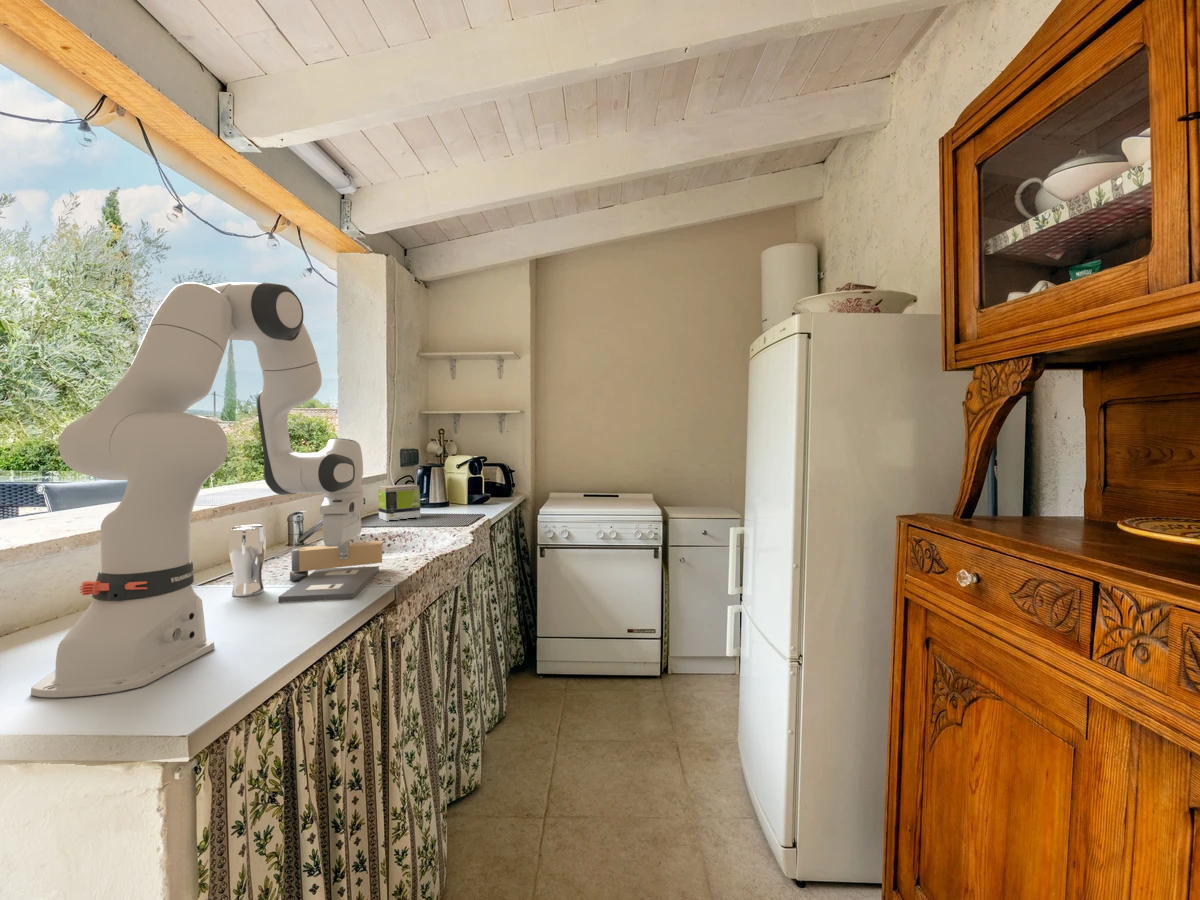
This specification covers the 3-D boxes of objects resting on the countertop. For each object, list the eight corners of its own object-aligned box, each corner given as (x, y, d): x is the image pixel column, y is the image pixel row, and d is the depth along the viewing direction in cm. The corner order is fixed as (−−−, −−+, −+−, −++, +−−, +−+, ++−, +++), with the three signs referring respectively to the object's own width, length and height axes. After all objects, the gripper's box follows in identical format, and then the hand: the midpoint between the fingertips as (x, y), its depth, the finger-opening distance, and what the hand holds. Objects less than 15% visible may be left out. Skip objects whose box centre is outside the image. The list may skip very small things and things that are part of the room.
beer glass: (248, 598, 120) (247, 529, 120) (221, 596, 122) (220, 528, 122) (273, 589, 127) (272, 525, 127) (247, 588, 129) (247, 524, 128)
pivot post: (305, 581, 135) (305, 573, 135) (287, 581, 134) (287, 573, 134) (310, 577, 139) (310, 569, 139) (293, 577, 138) (293, 570, 138)
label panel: (353, 598, 120) (353, 591, 120) (278, 602, 117) (278, 595, 117) (378, 570, 146) (378, 565, 146) (317, 573, 143) (317, 567, 143)
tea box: (412, 516, 250) (412, 483, 249) (420, 518, 242) (420, 485, 242) (378, 519, 240) (377, 485, 240) (385, 522, 232) (385, 487, 232)
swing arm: (382, 562, 144) (382, 543, 144) (292, 572, 134) (291, 551, 133) (378, 559, 149) (378, 540, 148) (291, 568, 138) (291, 548, 138)
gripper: (342, 499, 148) (342, 551, 148) (317, 508, 128) (317, 567, 128) (367, 499, 149) (367, 550, 149) (346, 507, 129) (346, 566, 129)
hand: (344, 558), depth 138 cm, fingers closed
